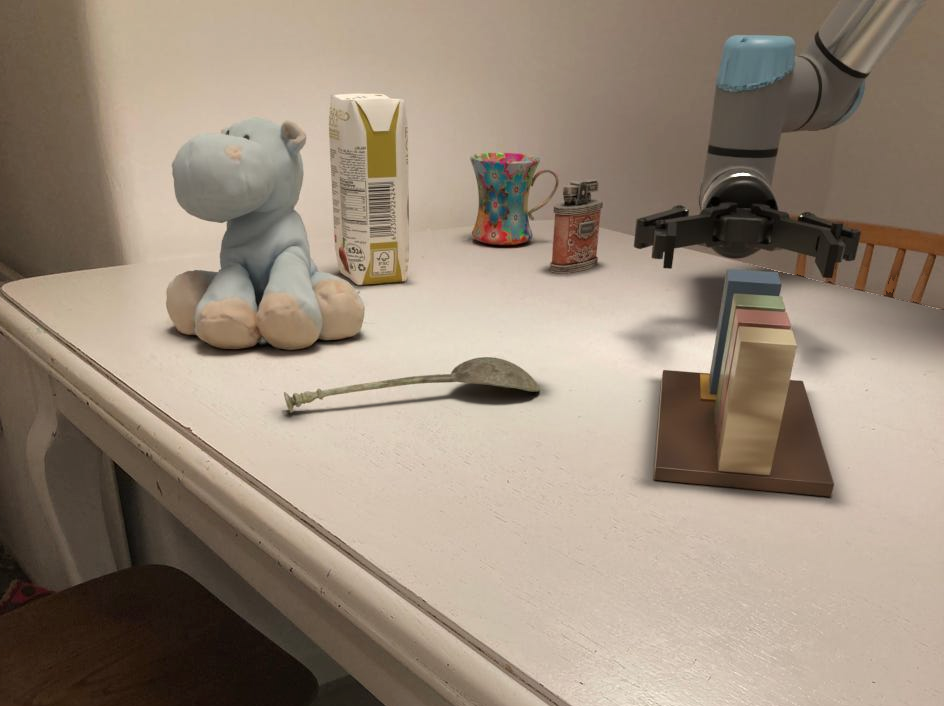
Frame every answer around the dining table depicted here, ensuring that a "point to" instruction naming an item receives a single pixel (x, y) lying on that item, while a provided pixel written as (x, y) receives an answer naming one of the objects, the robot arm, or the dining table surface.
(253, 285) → the hippo plush
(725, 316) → the blue block
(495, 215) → the mug
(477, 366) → the soupspoon
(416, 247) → the dining table surface
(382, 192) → the juice carton
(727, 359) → the block row
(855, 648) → the dining table surface
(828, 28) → the robot arm
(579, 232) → the lighter
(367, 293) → the dining table surface
